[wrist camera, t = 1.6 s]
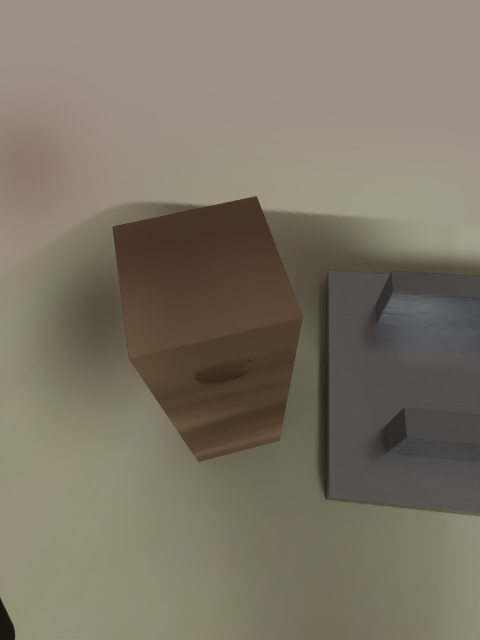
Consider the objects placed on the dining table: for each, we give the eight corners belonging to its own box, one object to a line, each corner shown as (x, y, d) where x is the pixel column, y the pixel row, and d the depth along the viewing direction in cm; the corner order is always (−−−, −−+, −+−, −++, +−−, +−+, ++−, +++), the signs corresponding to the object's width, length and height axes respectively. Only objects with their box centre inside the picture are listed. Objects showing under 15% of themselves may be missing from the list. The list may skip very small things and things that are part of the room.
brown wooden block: (279, 440, 20) (302, 317, 9) (198, 461, 19) (128, 359, 9) (257, 366, 22) (256, 196, 11) (183, 384, 21) (112, 226, 11)
